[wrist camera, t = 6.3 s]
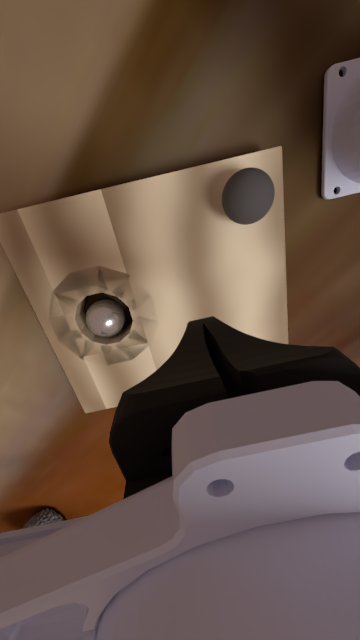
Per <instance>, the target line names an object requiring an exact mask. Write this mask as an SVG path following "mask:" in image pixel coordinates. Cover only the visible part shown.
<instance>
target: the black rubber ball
mask: <svg viewBox="0 0 360 640" xmlns="http://www.w3.org/2000/svg"><path fill="white" fill-rule="evenodd" d="M274 196H275V189H274V184H273V181H272V179H271V178H270V176H269V175H268V174H267V173H266V172H264V171H263V170H261V169H258V168H253V167H249V168H245V169H241V170H239V171H238V172H236V173H235V174H233V175H232V176H231V177H230V178H229V180H228V181H227V183H226V185H225V187H224V189H223V193H222V206H223V209H224V212H225V214H226V215H227V216H228V218H229V219H231V220H232V221H233V222H235V223H238V224H242V225H248V224H252V223H255V222H257V221H259V220H261V219H262V218H263V217H264V216H265V215H266V214H267V213H268V212H269V210H270V208H271V206H272V204H273V201H274Z"/></svg>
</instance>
